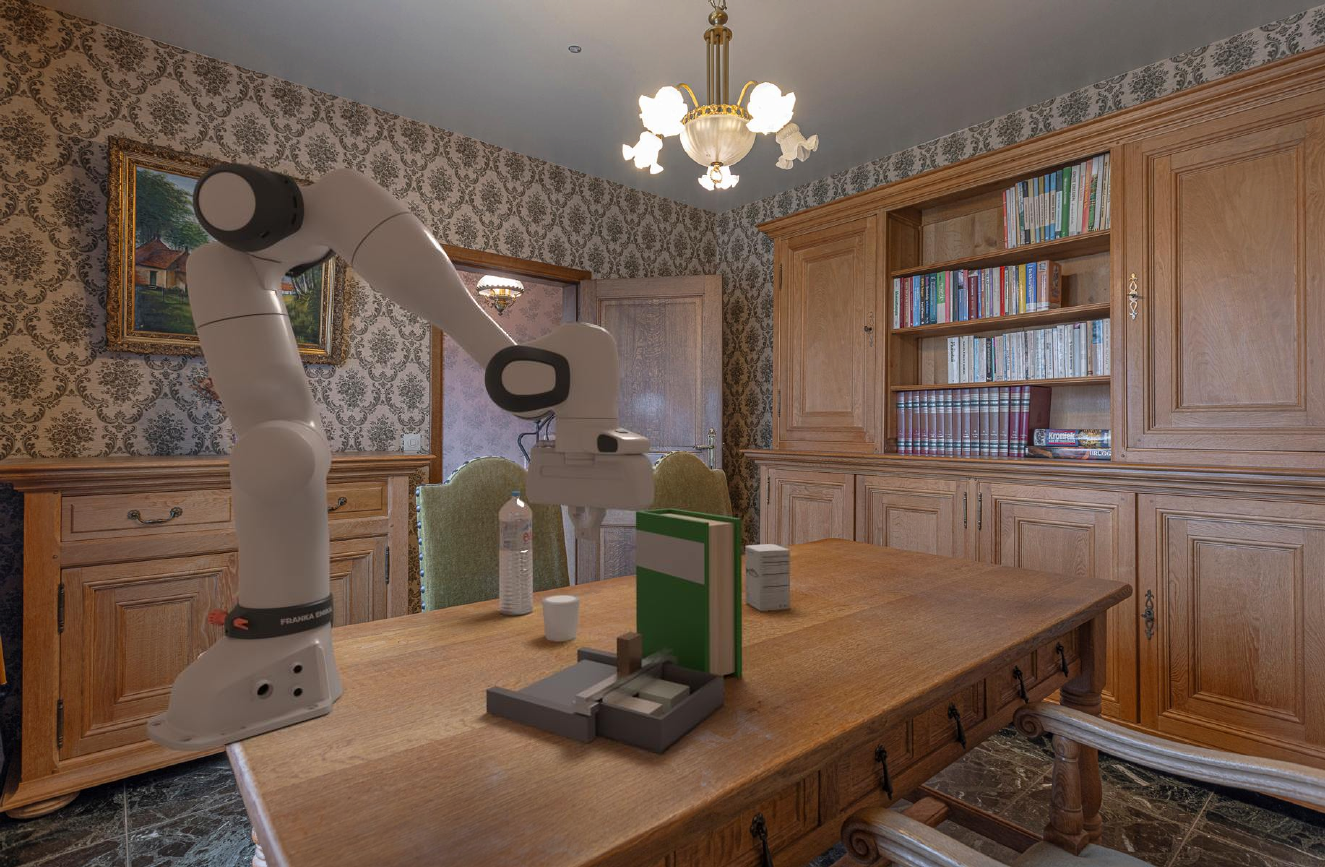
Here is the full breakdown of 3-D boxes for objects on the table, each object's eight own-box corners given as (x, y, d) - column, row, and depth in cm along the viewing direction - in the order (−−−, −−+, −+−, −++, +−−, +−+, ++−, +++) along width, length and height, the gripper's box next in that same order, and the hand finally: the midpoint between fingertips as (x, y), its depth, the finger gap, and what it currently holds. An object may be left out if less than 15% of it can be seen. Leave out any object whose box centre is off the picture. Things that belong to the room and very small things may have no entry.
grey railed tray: (587, 743, 79) (587, 718, 79) (486, 712, 88) (486, 689, 88) (675, 686, 96) (675, 666, 96) (583, 665, 105) (583, 646, 105)
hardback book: (742, 676, 100) (741, 518, 100) (704, 687, 96) (704, 522, 96) (671, 646, 115) (671, 508, 115) (636, 655, 110) (635, 511, 110)
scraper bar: (590, 725, 78) (590, 660, 78) (571, 719, 80) (570, 656, 80) (678, 671, 96) (678, 618, 96) (660, 667, 98) (660, 615, 98)
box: (661, 754, 76) (661, 719, 76) (579, 730, 82) (579, 698, 82) (723, 705, 90) (723, 675, 90) (649, 687, 96) (649, 660, 96)
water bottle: (519, 605, 142) (518, 489, 142) (539, 611, 138) (539, 491, 138) (492, 612, 137) (491, 492, 137) (513, 618, 132) (512, 493, 132)
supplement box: (744, 603, 143) (744, 545, 143) (775, 600, 145) (774, 543, 145) (759, 611, 136) (759, 550, 136) (791, 608, 138) (791, 548, 138)
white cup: (572, 643, 116) (572, 604, 116) (536, 641, 118) (535, 602, 118) (585, 632, 123) (584, 594, 123) (550, 630, 124) (550, 592, 124)
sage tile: (670, 714, 86) (670, 699, 86) (638, 706, 89) (638, 691, 88) (689, 700, 90) (689, 686, 90) (658, 693, 93) (658, 679, 93)
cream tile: (641, 735, 80) (640, 719, 80) (607, 725, 83) (607, 709, 83) (662, 720, 84) (662, 704, 84) (630, 711, 87) (630, 696, 87)
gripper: (516, 439, 95) (515, 535, 95) (634, 440, 84) (633, 549, 84) (546, 439, 100) (545, 530, 100) (660, 440, 89) (660, 542, 89)
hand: (586, 539), depth 92 cm, fingers closed
